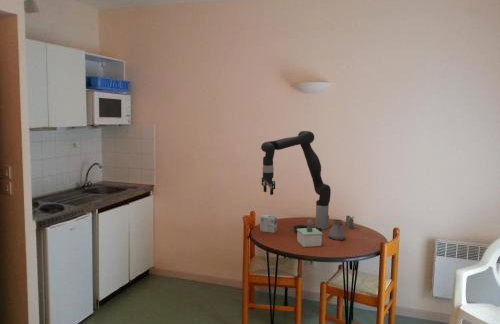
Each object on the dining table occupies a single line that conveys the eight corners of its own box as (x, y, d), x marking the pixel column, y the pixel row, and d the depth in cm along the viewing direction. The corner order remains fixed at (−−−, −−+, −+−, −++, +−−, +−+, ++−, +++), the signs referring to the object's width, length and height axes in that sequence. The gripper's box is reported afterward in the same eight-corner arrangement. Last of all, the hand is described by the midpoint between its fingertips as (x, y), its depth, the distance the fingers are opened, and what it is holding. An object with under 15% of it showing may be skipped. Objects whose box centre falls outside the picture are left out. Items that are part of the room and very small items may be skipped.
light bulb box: (276, 230, 287) (277, 216, 286) (274, 233, 281) (274, 218, 280) (262, 228, 291) (263, 214, 290) (259, 231, 285) (260, 216, 283)
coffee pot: (327, 236, 276) (327, 215, 274) (343, 236, 275) (344, 215, 274) (332, 246, 254) (333, 223, 253) (350, 246, 254) (351, 224, 252)
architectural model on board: (353, 229, 294) (354, 216, 293) (349, 229, 294) (350, 216, 293) (349, 225, 306) (350, 213, 305) (345, 225, 306) (346, 213, 304)
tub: (314, 241, 264) (314, 229, 263) (321, 246, 253) (321, 234, 252) (297, 242, 262) (297, 230, 261) (303, 248, 250) (303, 235, 249)
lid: (314, 230, 264) (315, 217, 263) (322, 236, 251) (323, 222, 250) (296, 231, 261) (296, 218, 260) (303, 237, 249) (303, 223, 247)
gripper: (278, 172, 271) (278, 195, 274) (267, 168, 283) (267, 190, 286) (269, 173, 267) (269, 196, 271) (258, 169, 279) (258, 191, 283)
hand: (268, 193), depth 279 cm, fingers open, 8 cm apart
